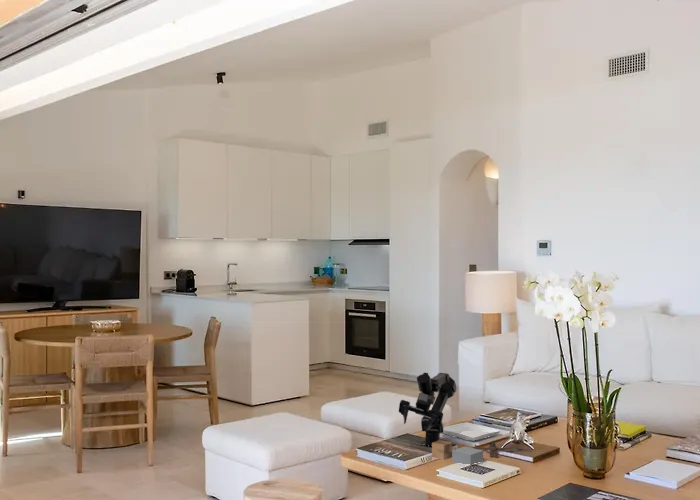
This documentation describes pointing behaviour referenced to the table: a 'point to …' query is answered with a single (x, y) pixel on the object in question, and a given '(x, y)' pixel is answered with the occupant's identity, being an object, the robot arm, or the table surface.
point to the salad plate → (458, 428)
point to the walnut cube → (441, 449)
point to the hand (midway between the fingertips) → (415, 426)
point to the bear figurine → (491, 449)
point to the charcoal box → (467, 455)
